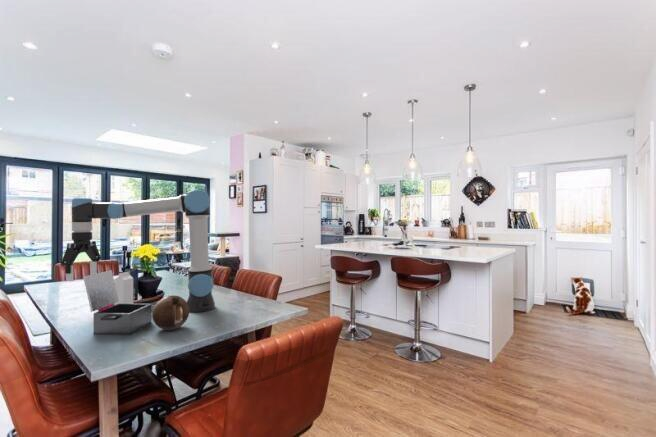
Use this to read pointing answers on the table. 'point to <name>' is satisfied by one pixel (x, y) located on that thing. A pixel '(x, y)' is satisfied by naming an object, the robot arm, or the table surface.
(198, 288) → the robot arm
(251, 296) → the table surface
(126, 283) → the milk
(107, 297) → the lid
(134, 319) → the gray box
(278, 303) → the table surface
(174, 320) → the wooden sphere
